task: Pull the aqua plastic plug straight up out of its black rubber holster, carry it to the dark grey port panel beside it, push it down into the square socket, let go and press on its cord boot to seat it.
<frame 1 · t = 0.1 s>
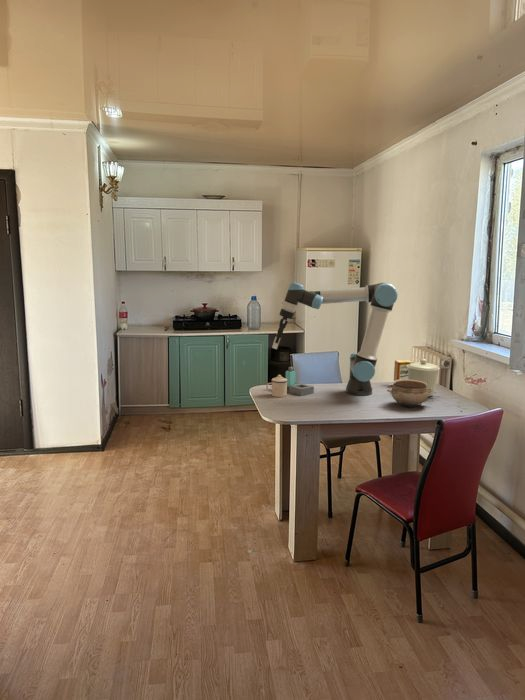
hand: (274, 346, 286), 28 cm above the table, tool tilted 20°, fingers open, 13 cm apart
teacup with lid: (276, 395, 291), on the table
aqua plug: (290, 378, 303), in the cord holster
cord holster: (290, 389, 304), on the table
canister: (421, 395, 297), on the table
port panel: (301, 392, 297), on the table
baking soda box: (402, 386, 317), on the table
cooking pot: (408, 405, 275), on the table
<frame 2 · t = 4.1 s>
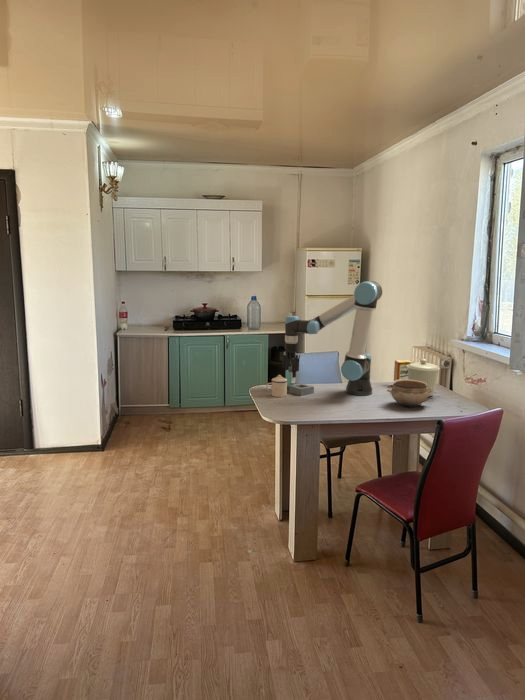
hand: (290, 381, 304), 5 cm above the table, tool pointing down, fingers closed on aqua plug, 4 cm apart
aqua plug: (290, 378, 303), in the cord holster, touching gripper
everything else where it was.
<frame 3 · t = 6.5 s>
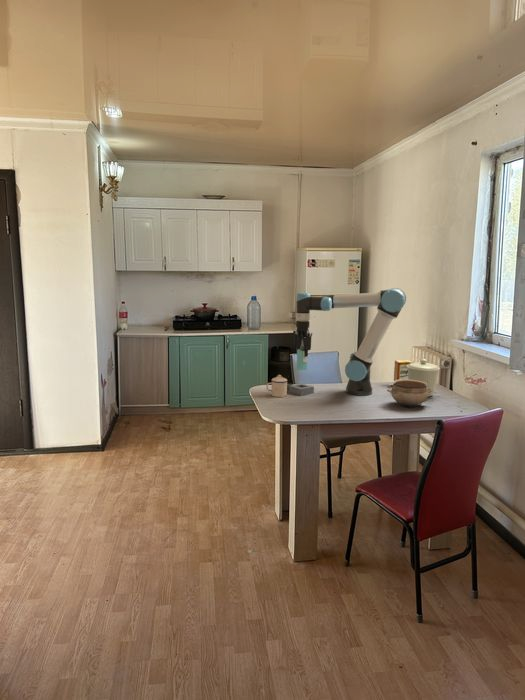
hand: (301, 361, 294), 18 cm above the table, tool pointing down, fingers closed on aqua plug, 4 cm apart
aqua plug: (301, 357, 294), point 20 cm above the table, touching gripper
everything else where it was.
when the fingers open (6 cm above the table, at t = 9.3 s): aqua plug drops 1 cm, resting in port panel.
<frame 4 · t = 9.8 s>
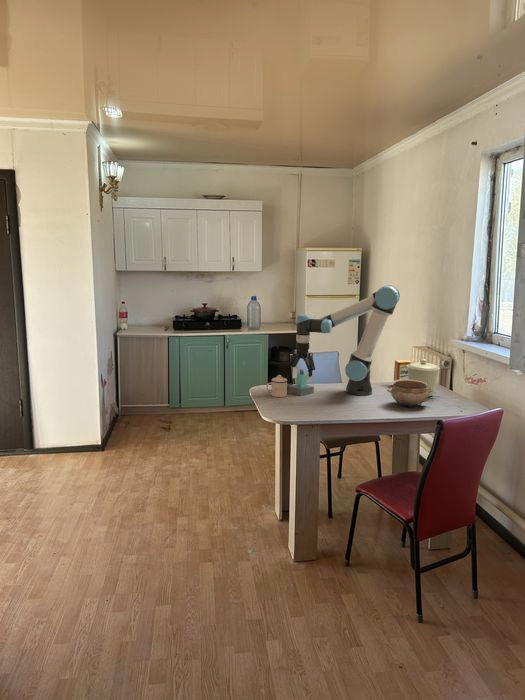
hand: (301, 380, 296), 8 cm above the table, tool pointing down, fingers open, 11 cm apart
aqua plug: (301, 381, 296), in the port panel
everything else where it was.
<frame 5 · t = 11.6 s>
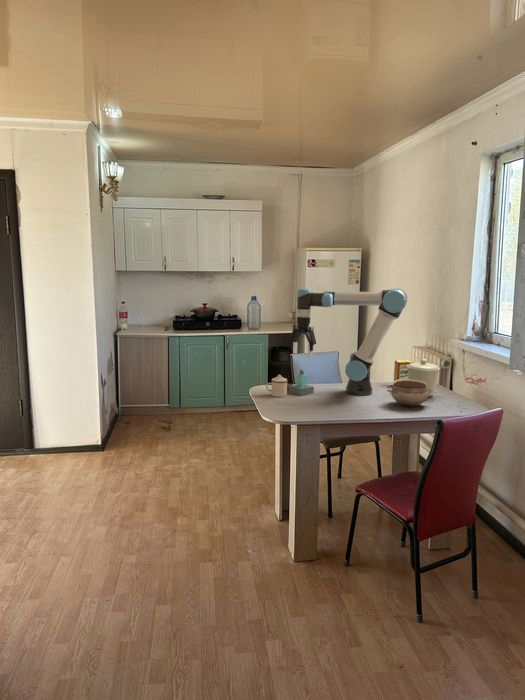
hand: (302, 355, 293), 22 cm above the table, tool pointing down, fingers open, 11 cm apart
nothing on the table moved.
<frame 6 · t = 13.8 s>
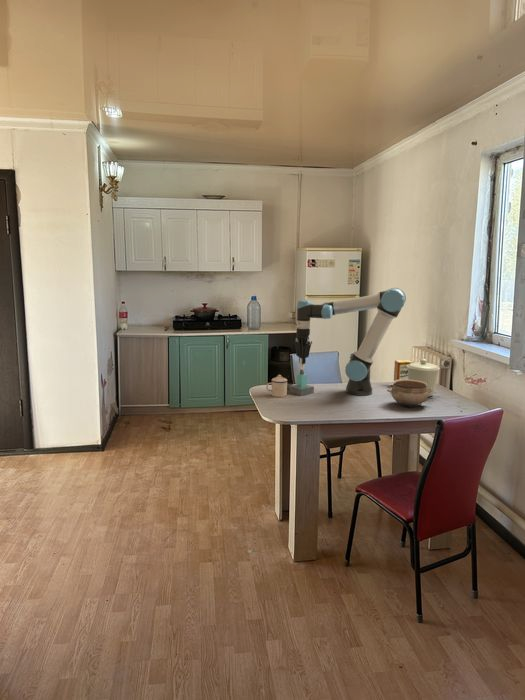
hand: (301, 369, 295), 14 cm above the table, tool pointing down, fingers closed
nothing on the table moved.
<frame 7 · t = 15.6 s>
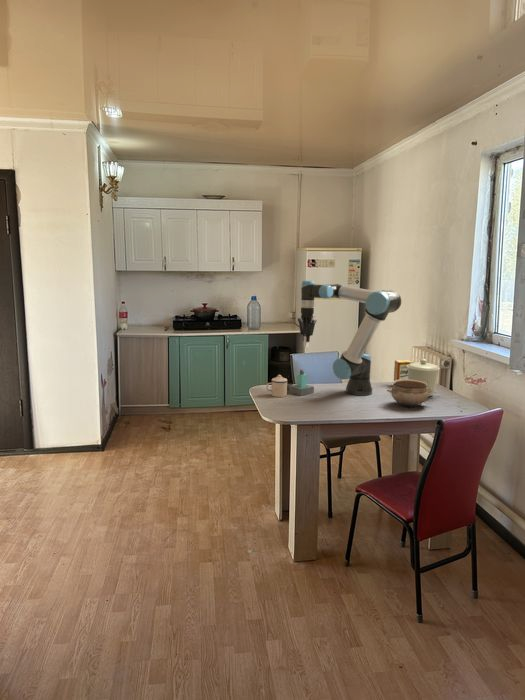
hand: (306, 347, 307), 24 cm above the table, tool pointing down, fingers closed
nothing on the table moved.
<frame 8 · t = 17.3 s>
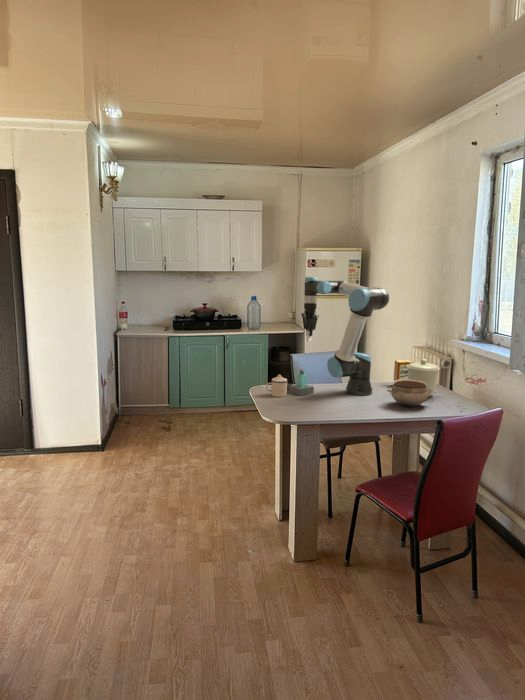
hand: (309, 341, 317), 26 cm above the table, tool pointing down, fingers closed
nothing on the table moved.
at the end: aqua plug 0.0 cm off-centre on the port panel, point 6.7 cm above the port panel's base; aqua plug tilted 0°; the gripper is holding nothing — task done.
